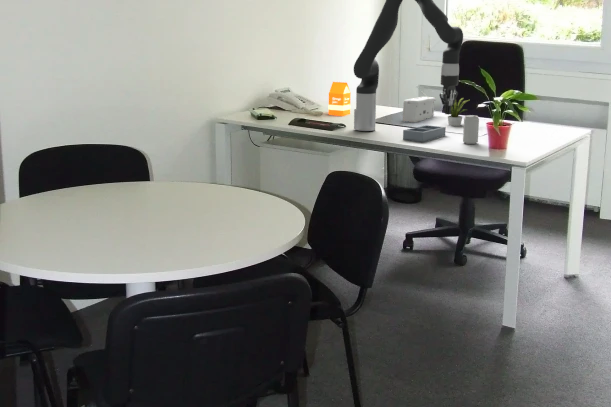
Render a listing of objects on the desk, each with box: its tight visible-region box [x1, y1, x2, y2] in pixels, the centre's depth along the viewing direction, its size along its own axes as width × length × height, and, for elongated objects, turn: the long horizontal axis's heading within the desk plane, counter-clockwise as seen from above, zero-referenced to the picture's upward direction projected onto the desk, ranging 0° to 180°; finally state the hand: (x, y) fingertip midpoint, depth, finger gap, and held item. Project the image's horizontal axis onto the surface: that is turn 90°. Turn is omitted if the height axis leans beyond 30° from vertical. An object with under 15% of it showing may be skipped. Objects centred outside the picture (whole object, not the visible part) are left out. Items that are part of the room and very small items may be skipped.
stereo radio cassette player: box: [402, 86, 437, 123], centre depth 401 cm, size 21×8×20 cm, turn 144°
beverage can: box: [462, 114, 480, 145], centre depth 346 cm, size 6×6×12 cm
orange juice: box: [328, 81, 351, 117], centre depth 413 cm, size 8×9×20 cm
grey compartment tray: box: [402, 124, 447, 143], centre depth 358 cm, size 20×10×4 cm, turn 142°
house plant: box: [443, 97, 469, 127], centre depth 385 cm, size 14×14×16 cm
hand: (447, 114), depth 346 cm, fingers closed
